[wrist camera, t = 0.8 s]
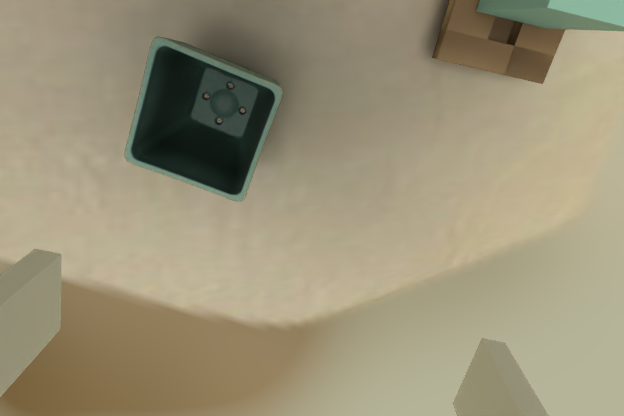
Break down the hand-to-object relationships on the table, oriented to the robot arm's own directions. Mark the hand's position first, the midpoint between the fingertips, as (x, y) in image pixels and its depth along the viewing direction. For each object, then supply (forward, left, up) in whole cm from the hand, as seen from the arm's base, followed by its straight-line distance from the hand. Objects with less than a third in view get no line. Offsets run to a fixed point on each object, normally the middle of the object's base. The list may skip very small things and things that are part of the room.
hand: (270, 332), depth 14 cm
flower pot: (-5, -4, -27) cm, 28 cm away
